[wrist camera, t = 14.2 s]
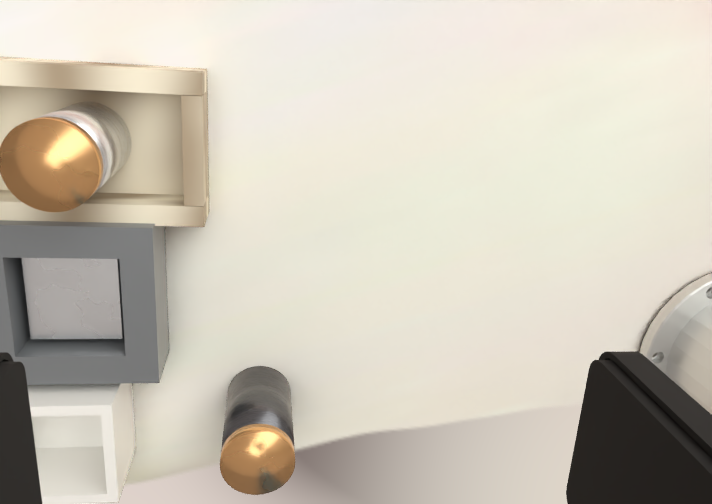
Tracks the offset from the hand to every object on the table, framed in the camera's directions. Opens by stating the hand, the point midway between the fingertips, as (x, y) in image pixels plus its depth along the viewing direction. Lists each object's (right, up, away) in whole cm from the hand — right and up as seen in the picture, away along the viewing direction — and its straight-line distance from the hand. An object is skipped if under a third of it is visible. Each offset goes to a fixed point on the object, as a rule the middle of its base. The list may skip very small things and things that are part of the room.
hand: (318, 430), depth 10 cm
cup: (-17, -7, +28) cm, 33 cm away
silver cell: (-13, +9, +22) cm, 28 cm away
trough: (-14, +9, +23) cm, 28 cm away
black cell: (-6, -6, +30) cm, 31 cm away
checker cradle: (-15, +1, +26) cm, 30 cm away
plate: (-15, +1, +24) cm, 28 cm away
